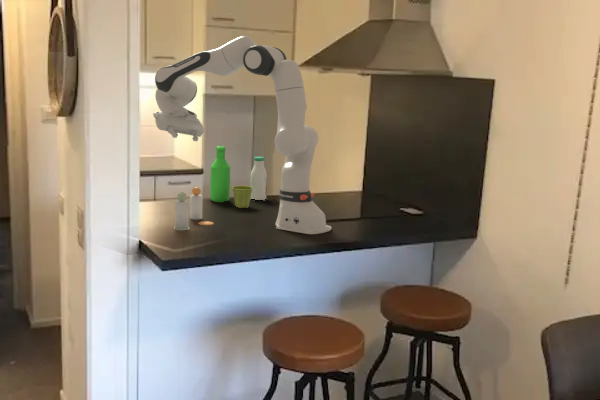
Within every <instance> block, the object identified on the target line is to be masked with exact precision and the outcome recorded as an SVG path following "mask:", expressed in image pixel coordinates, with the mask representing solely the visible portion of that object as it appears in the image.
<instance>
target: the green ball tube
mask: <svg viewBox="0 0 600 400" xmlns="http://www.w3.org/2000/svg"><path fill="white" fill-rule="evenodd" d="M176 199H177V200H175V201H174V214H175V215H174V227H175V229H178V230H177V231H186V230H185V229H188V227H189V204H190V200H187V199H188V198H187V194H186V193H185V192H183V191H182V192H179V193H177V195H176ZM175 229H174V230H175ZM188 230H189V229H188Z"/></svg>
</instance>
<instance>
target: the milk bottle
mask: <svg viewBox="0 0 600 400" xmlns="http://www.w3.org/2000/svg"><path fill="white" fill-rule="evenodd" d="M253 158H254V159H253V160H254V161H253V162H254V165H253V167H252V169H251V171H250V179H249V180H250V182H249V184H250V185H249V186H250V187H253V189H252V192H251V197H250V200H251V199H255V200H263V201H266V200H267V193H268V192H267V191H268V190H267V189H268V188H267V186H268V185H267V184H268V174H267V170H266V168H265V164H264V163H265V157H264V156H254V157H253ZM265 199H266V200H265ZM255 200H254V201H255Z"/></svg>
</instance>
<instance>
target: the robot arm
mask: <svg viewBox="0 0 600 400" xmlns="http://www.w3.org/2000/svg"><path fill="white" fill-rule="evenodd" d="M244 68H245V69H246V70H247V71H248V72H249V73H252V74H253V75H259V76H265V77H267V76H269V77H271V79H272V80H273V85H274V91H275V92H274V93H275V98H276V106H277V128H276V129H277V130H276V134H275V137H274V146H275V149H276V151H277V152H278V153H280V154H281V155H284V156H286V157H285V161H284V163H283V166H282V167H281V173H280V174H281V178H280V180H281V181H280V189H279V193H278V194H279V196H278V197H279V198H278V199H279V208H278V213H277V218H276V220H275V224H274V225H275V226H276V227H275V228H276V229H277V230H283V231H289V232H293V233H300V234H304V235H305V234H306V235H319V234H324V233H327V232H330V231H331V230H332V226H331V225H328V224H327V223H326V222H327V220H326V219H327V218H326V215H325V212H324V211H323V210H321V209H320V207H318V205H317V204H316V203H315V202H314V201H313V198H314V197H315V195H316V194H315V193H311V190H310V181H311V169H312V165H313V160H314V155H315V151H316V147H317V145H318V143H319V135H318V132H317V131H316V130H315V129H314V128H313V127H311V126H309V125H307V124H305V121H306V120H305V119H306V113H307V112H306V111H307V109H308V107H307V100H306V99H307V98H306V93H305V86H304V80H303V76H302V72H301V69H300V67H299V64H298V62H296V61H295V60H293V59H292V60H291V59H287V56H286V54H285V52H283V51H282V50H281V49H280V48H278V47H273V46H270V45H258V44H257V43H256V41H254V39H252V38H251V37H250V36H247V35H242V36H238V37H236V38H234V39H232V40H230V41H228V42H227V43H225V44H223V45H221V46H220V47H217V48H215V49H211V50H207V51H200V52H198V53H195V54H192V55H191V56H188V57H186V58H184V59H182V60H180V61H178V62H175V63H173V64H171V65H166V66H164V67H161V68H159V70H158V71H157V72H156V74H155V76H154V77H155V78H154V82H155V86H156V92H155V94H154V95H155V101H156V103H157V106H158V109H159V110H160V111H161V112H160V111H155V112H153V114H152V115H153V117H154V118H155V119H154V122H155V125H156V128H157V129H158V130H160V131H164V132H165V131H166V132H167V133H168V134H170V135H171V136H172V138H173V139H177V138H178V134H182V135H186V136H192V138H191V139H192V140H193V142H198V141H199V138H201V137H202V135H204V134H203V133H204V132H205V128H204V126H203V124H202V122H201V120H200V119H198V115H197V114H196V113H195V112H193V111H191V110H189V109H187V108H186V106H187V105H188V104H190V103H191V102H192V101H194V100H195V98H196V96H197V93H198V85H197V83H196V81H193V80H192V79H191V78H189V77H187V76H189V75H191V74H192V73H194V72H207V73H211V74H213V75H216V76H217V75H218V76H221V77H227V76H230V75H233V74H234V73H236V72H238V71H239V70H241V69H244Z"/></svg>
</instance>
